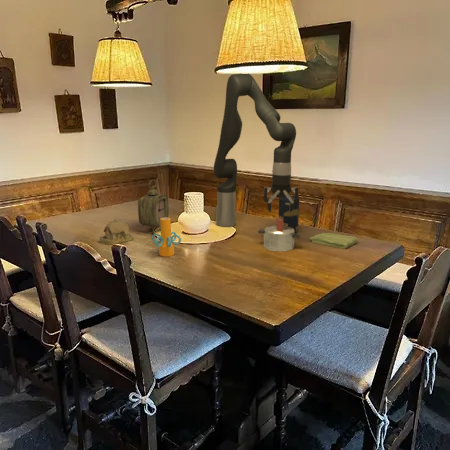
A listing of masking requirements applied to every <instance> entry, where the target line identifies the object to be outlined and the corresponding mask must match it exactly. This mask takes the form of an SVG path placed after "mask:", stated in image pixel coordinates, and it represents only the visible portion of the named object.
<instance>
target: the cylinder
mask: <svg viewBox="0 0 450 450" xmlns="http://www.w3.org/2000/svg"><path fill="white" fill-rule="evenodd" d="M171 220H172V219H171V217H168V218H161V219H160V223H161V226H160V234H159V233H156V234H152V236H151V241H152V242H153V244H155V246H156V247H157V248H158V250H159V252H158V253H159V254H158V255H159V256H160V257H164V258H169V257H172V256H174V255H175V246H178V245H180V244H181V242H182V238H181V236H180V235H178V234H177V233H176V231H172V222H171ZM155 236H157V237H156V239H154V238H155ZM177 238H178V242H175V241H176V239H177Z"/></svg>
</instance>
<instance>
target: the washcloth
mask: <svg viewBox="0 0 450 450" xmlns="http://www.w3.org/2000/svg"><path fill="white" fill-rule="evenodd" d="M309 239H310V241H311V243H313V244H318V245H321V246H328V247H333V248H337V249H343V250H346V249H348V248H350V247H351V246H353V245H355V244H357V243H358V242H359V240H358V239H357V237H355V236H353V235H352V236H351V235H349V236H348V235H345V234H339V233H338V234H337V233H332V232H322V233H318V234H315V235H314V236H310V237H309Z"/></svg>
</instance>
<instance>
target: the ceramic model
mask: <svg viewBox="0 0 450 450" xmlns="http://www.w3.org/2000/svg"><path fill="white" fill-rule="evenodd" d="M129 227H130V226H129V225H128V224H127V223H126V222H125V221H123V220H122V219H118V218H114V220H113V221H109V222H108V224H107V225H105V227H104V229H103V233H104V235H103V236H101V235H100V236H99V241H100V243H101V244H103V245H114V244H120V243H127V242H130V241H133V239H134V237H133V236H132V235H131V232H130V228H129Z"/></svg>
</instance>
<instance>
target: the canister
mask: <svg viewBox="0 0 450 450" xmlns="http://www.w3.org/2000/svg"><path fill="white" fill-rule="evenodd" d="M289 195H290V194H289ZM290 197H291V198H292V199H295V195H290ZM289 205H290V201H289V199H288V198H287V197H285V198H281V197H280V198H278V218H282V220H283V226H287V227H291V228H293V229H294V231H295V233H297V232H298V230H299V223H300V222H299V219H300V218H299V217H300V214H299V212H300V197H298V202H295V203H294V204H293V211H292V212H289Z"/></svg>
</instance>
